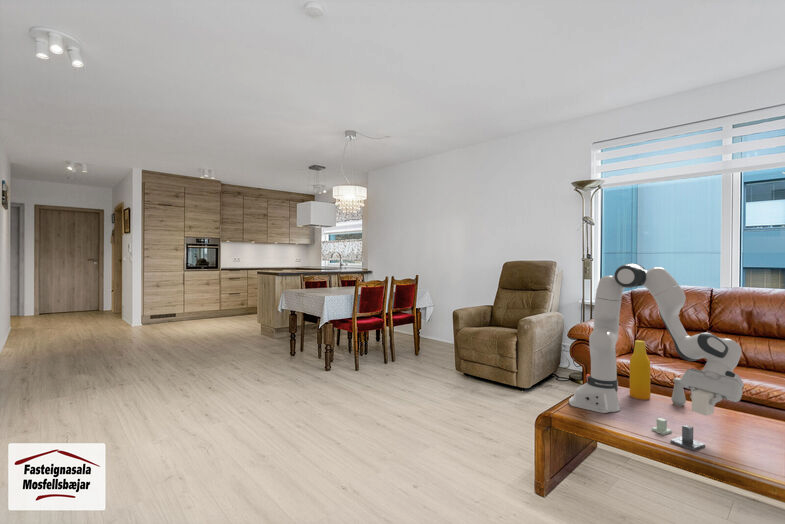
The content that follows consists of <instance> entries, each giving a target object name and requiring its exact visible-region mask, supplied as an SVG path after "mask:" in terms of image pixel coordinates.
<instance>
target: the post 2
mask: <svg viewBox="0 0 785 524" xmlns="http://www.w3.org/2000/svg"><path fill="white" fill-rule="evenodd" d="M670 443H671V444H674V445H676V446H678V447H681V448H684V449H686V448H687V450H689V449H690V450H689V451H691V450H692V452H695V451H698V450H700V449H703V448H706V444H705V443H703V442H701V441H698V440H695V439H694V427H693V426H691V425H687V424H684V425H682V426H681V436H677V437H674V438H672V439H670Z"/></svg>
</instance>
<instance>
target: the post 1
mask: <svg viewBox="0 0 785 524" xmlns="http://www.w3.org/2000/svg"><path fill="white" fill-rule="evenodd" d="M651 431H653V432H655V431H656V433H658V432H659V434H661V435H663V436H665V434H666V435H669V434H671V433H672V429H670V428H668V420H667V419H665V418H662V417H659V418H656V426H653V427H651Z"/></svg>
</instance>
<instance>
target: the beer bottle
mask: <svg viewBox="0 0 785 524" xmlns="http://www.w3.org/2000/svg"><path fill="white" fill-rule="evenodd" d="M629 395H630V397H631V398H634V399H637V400H643V401H644V400H650V399H651V359H650V358H649V356H648V354H647V349H646V342H645V340H639V339H638V340H637V339H636V340H635V342H634V349H633V353H632V355H631V357H630V359H629Z"/></svg>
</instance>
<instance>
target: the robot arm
mask: <svg viewBox="0 0 785 524" xmlns="http://www.w3.org/2000/svg"><path fill="white" fill-rule="evenodd" d="M638 287H644V288H646V289H647V290H648V292H649V294H651V296H652V298H653V300H654V301H655V303H656V304H657V306H658V313H659V315H660V318H661V320H662V322H663V324H664V326H665V328H666V330H667V332H668V333H669V335H670V337H671V340H672V341H673V345H674V347H675V351H676V353H677V354H678V356H679V357H680V358H682V359H683V360H685V361H688V362H695V361H698V360H701V359H706V363H705V365H704V367H703V369H696V368H692V367H691V368H689V369H686V370H685V372H684V374H683V375H682V376H681V377H680V378H681V379H680V383H681V385H682V386H683V388H685V389H688V390H690V392H691V394H690V399H691V400H692V391H695V390H699V389H700V390H703V391H707V392H711V393H714V399H710V401H709V404H710V405H713V406H714V407H715V406H716V404H717V403H719V402H721V401H722V400H725V401H731V402H734V403H737V402H740V401H741V399H742V396H743V393H744V390H743V388H744V387H745V386H744V385H745V384H744V380H742V378H741V376H739V375H740V374H737V373H736V372H734V369H735V368H736V367H738V366H737V365H738V364H739V361H740V360H741V357H742V347H741V345H740V344H739V343H738V342H736V341H735V340H733V339H731V338H725V337H724V338H722V337H718V336H717V335H715V334H713V333H712V332H711V333H710V332H700V333H697V334H694V335H691V336H690V335H689V334H688V333H687V331H686V329H685V328H684V325H683V324H682V322H681V320H680V317H679V315H680V312H681V309H682V308H683V306H684V305H685V303H686V299H687V296H686V294H685V291H684V290H683V289H682V287H681V285H679V283H678V282H677V280H676V279H675V278H674V277H673V276H672V275H671V273H670V272H668V271H667V270H666V269H665V268H663V267H660V266H656V267H652V268H649V269H646V268H644V267H643V265H641V264H638V263H631V262H630V263H625V264H621V265H620V266H619V267H618V268H617V269H616V270H615V272H614V275H604V276H603V277H601V278H600V279H599V281H598V284H597V288H596V290H595V291H596V293H595V299H594V305H593V306H594V307H593V330H592V331H591V333H590V334H589V338H588V340H589V341H588V342H589V343H588V344H589V353H590V354H589V355H590V374H589V373H588V374H586V375H585V378H586V382H585V383H584V384H582V385H580V386H578V387H577V388H576V389H575V390H574V394H573V395H572V396H571V398H570V397H569V400H568V404H569V405H570V406H571V407H575V408H580V409H584V410H589V411H592V412H597V413H601V414H606V413H615V412H619V411H620V410H621V406H620V403H619V396H618V391H619V390H618V389H619V381H618V378H617V377H618V376H617V375H618V374H617V371H618V370H617V368H618V367H617V366H618V365H617V364H618V363H617V353H616V344H617V342H618V340H619V329H620V328H619V327H620V316H621V315H620V314H621V305H622V297H623V292H624V290H625V289H630V288H631V289H632V288H638Z"/></svg>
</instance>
